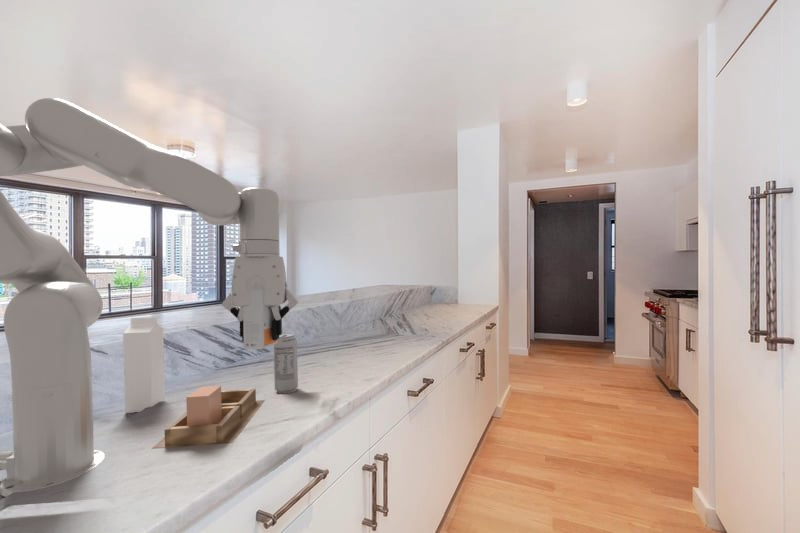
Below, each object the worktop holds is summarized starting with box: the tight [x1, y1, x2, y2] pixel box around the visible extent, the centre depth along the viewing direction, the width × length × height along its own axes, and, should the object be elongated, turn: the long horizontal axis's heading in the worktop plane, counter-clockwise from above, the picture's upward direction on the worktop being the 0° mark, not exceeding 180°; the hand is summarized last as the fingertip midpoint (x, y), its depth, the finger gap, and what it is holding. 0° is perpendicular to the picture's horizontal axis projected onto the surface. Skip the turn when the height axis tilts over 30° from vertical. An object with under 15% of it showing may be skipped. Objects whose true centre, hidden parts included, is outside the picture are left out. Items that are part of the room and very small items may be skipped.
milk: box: [122, 316, 166, 414], centre depth 90 cm, size 6×6×22 cm
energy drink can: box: [273, 333, 299, 395], centre depth 100 cm, size 6×6×15 cm
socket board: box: [152, 388, 266, 449], centre depth 78 cm, size 14×22×4 cm, turn 5°
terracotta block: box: [185, 385, 222, 426], centre depth 73 cm, size 4×6×8 cm, turn 5°
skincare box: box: [243, 288, 277, 350], centre depth 75 cm, size 6×4×12 cm
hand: (261, 338), depth 75 cm, fingers closed on skincare box, 5 cm apart
